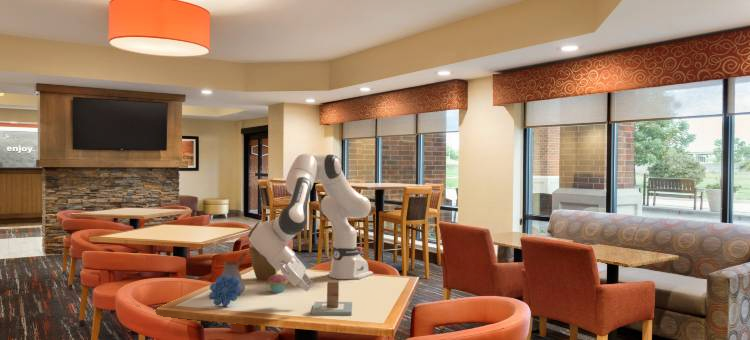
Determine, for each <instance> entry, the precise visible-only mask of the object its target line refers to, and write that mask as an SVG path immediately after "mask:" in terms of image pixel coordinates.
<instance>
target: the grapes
mask: <svg viewBox="0 0 750 340" xmlns="http://www.w3.org/2000/svg"><path fill="white" fill-rule="evenodd" d="M232 278H233V276H232V275H231V274H227V275H226V276H225V277H223V276H221V275H219V276H218V277H216V279H215V282H213V283H212V284H210V286H209V290H210V291H211V292H209V295H208V298H209V299H210V300H213V304H214V305H215V306H220V305H222V306H223V307H227V306H229V305H230V304H231V302H235V301H237V299H238V297H239V295H237V293H238V292H240V291H241V286H240V285H237V284H238V283H239V278H238V277H234V278H233V279H232Z"/></svg>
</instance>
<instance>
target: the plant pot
mask: <svg viewBox="0 0 750 340" xmlns="http://www.w3.org/2000/svg"><path fill="white" fill-rule="evenodd" d="M248 248H249V255H250V261H251V264H252V265H251V266H252V268H253V272H254V275H255V278H256V280H257V281H259V282H267V281H268V278H269V277H270V276H272V275H275V274H276V272H275V268H274V267H273V266H272V265H271V264H270V263H269V262H268V261H267V259H266V258H265V257H264V256H263V255H261V254H260V253H259V252H258V251H257V250H256V249H255V248H254V246H253V245H252V244H251V243H250V244H249V245H248Z"/></svg>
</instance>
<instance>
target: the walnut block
mask: <svg viewBox="0 0 750 340" xmlns="http://www.w3.org/2000/svg"><path fill="white" fill-rule="evenodd" d="M339 285H340V280H327V282H326V286H327V287H326V302H327V308H338V302H339V299H340V298H339V294H340V293H339V290H340V289H339V288H340V287H339Z"/></svg>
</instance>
